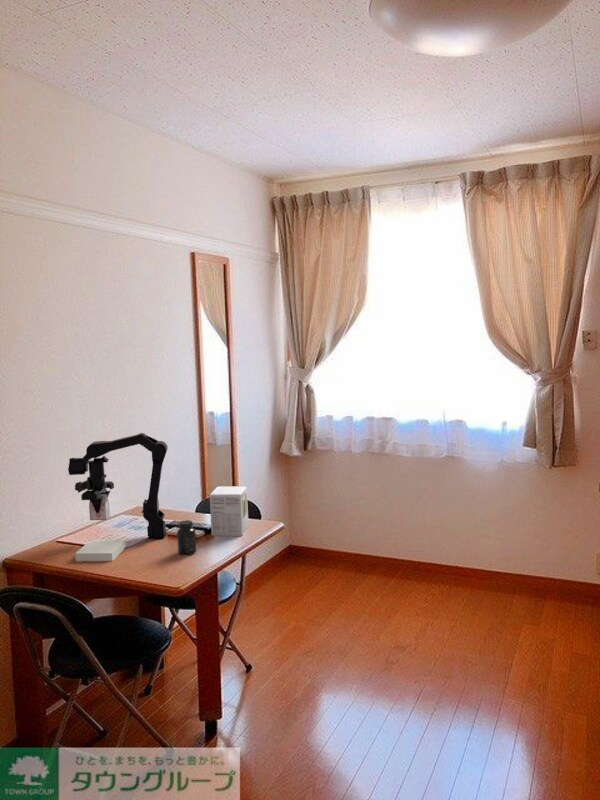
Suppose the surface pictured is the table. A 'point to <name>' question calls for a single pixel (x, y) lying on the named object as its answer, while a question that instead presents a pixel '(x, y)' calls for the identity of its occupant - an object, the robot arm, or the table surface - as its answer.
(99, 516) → the white paper carton
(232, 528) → the supplement box
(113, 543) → the plinth
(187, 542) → the supplement bottle
